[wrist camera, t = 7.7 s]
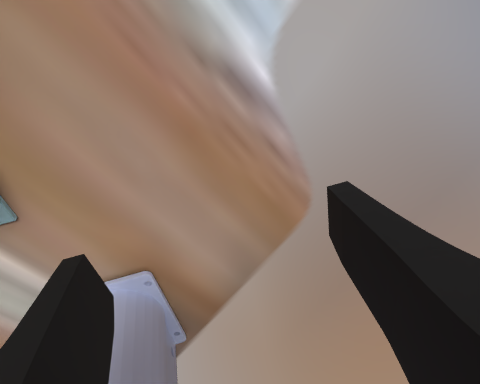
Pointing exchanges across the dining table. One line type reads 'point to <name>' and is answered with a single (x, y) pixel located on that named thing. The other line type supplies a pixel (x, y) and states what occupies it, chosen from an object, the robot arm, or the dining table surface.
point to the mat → (6, 213)
